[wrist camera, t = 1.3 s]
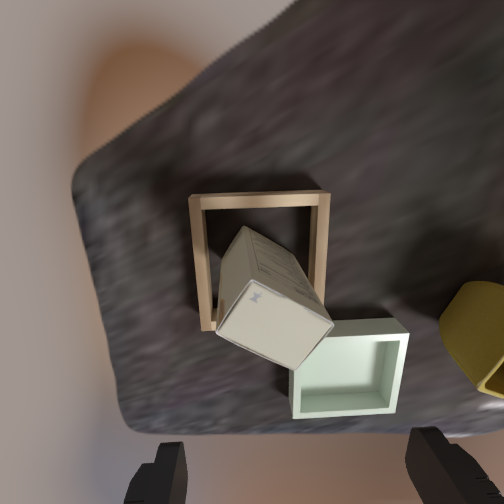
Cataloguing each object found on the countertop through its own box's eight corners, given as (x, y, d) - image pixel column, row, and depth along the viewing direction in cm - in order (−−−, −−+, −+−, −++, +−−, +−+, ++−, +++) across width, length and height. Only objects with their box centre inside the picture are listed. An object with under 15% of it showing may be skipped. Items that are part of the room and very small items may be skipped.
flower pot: (475, 350, 33) (555, 417, 25) (413, 328, 32) (476, 391, 24) (524, 287, 31) (632, 338, 22) (459, 260, 30) (548, 303, 21)
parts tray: (394, 317, 31) (409, 333, 29) (382, 392, 35) (394, 412, 32) (290, 322, 31) (294, 339, 28) (288, 397, 35) (292, 419, 32)
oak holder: (322, 189, 26) (330, 193, 24) (315, 311, 31) (322, 325, 28) (192, 194, 26) (188, 198, 24) (204, 317, 30) (201, 331, 28)
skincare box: (220, 259, 28) (207, 332, 17) (243, 223, 27) (246, 275, 16) (273, 289, 30) (296, 376, 18) (297, 255, 29) (337, 326, 17)
